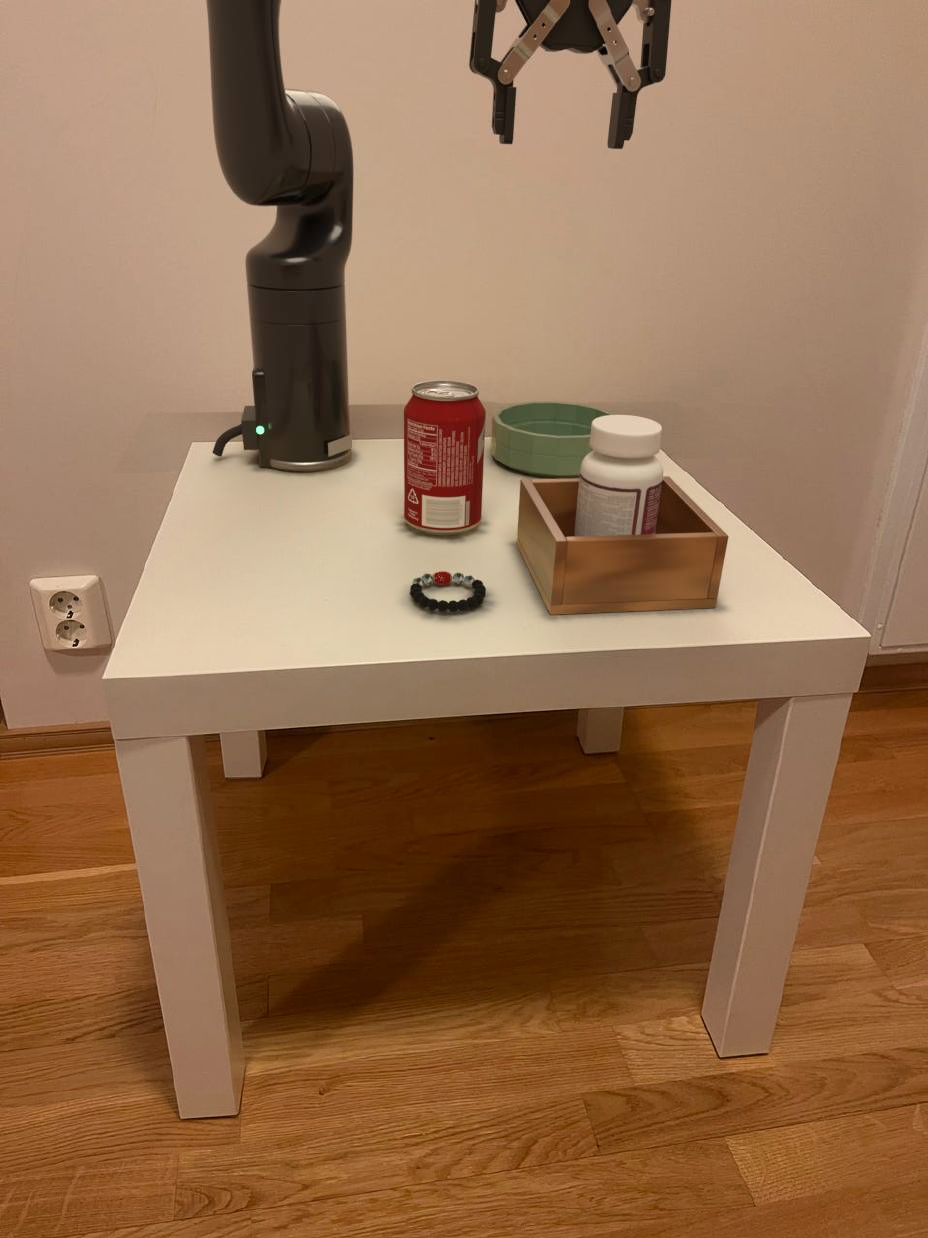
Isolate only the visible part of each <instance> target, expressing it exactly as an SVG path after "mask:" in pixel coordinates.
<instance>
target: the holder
mask: <svg viewBox="0 0 928 1238" xmlns="http://www.w3.org/2000/svg"><path fill="white" fill-rule="evenodd" d="M579 478H580V477H574V478H531V479H530V478H523V479H522V478H521V479H520V482H519V483H520V485H519V497H518V498H519V499H518V514H517V532H516V536H517V537H516V546H517V548H518V550H519V552H520V554H521V557H522V558H523V561H524V563H525V565H526V567H527V569H528V571H529V573H530V575H531V578H532V579H533V581H534V583H535V586H536V588H537V590H538V592H539V594H540V596H541V599H542V600H543V603H544V605H545V607H546V609H547V611H548V613H549V615H551V616H552V615H553V616H556V615H578V614H580V615H581V614H598V613H623V612H626V613H627V612H646V611H647V612H648V611H671V610H693V609H696V610H697V609H715V608H716V607H717V602H718V597H719V592H720V586H721V580H722V575H723V574H722V573H723V570H724V565H725V558H726V554H727V553H726V552H727V547H728V543H729V535H728V533H726V532H725V531H724V529H722V528H721V526H720V525H718V524H717V522H715V521H714V520H713V519H712V518H711V516H709V515H708V514H707V513H706V512H705V510H703V509H702V508H701V507H700V506H699V504H697V502H695V501H694V500H693V499H692V498H691V497H690V496H689V494H687V493H686V492H685V491H684V490H683V489H682V488H681V487H680V485H678V484H677V483H676V481H674V480H673V479H672V478H671V476H667V475H666V476H664V475H663V482H662V487H661V495H660V502H659V509H658V516H657V524H656V531H655V534H642V535H610V536H577V537H574V532H575V521H576V510H577V498H578V488H579Z"/></svg>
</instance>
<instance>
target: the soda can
mask: <svg viewBox="0 0 928 1238" xmlns="http://www.w3.org/2000/svg"><path fill="white" fill-rule="evenodd" d="M411 394H412V395H411V397H410V398H409V400H408V401H407V403H406V404H405V406H404V408H403V519H404V521H405V523H406V524H408V525H409V526H410V527H412V528H414V529H416V530H417V531H419V532H421V533H423V534H426V535H430V536H437V537H438V536H439V537H450V536H457V535H461V534H463V533H466V532H468V531H469V530H472V529H474V528H475V527H477V526H478V525H479V524H480V523H481V521H482V512H483V487H484V464H485V439H486V438H485V437H486V419H487V418H486V417H487V413H486V412H487V411H486V409H485V407H484V405H483V403H482V402H481V400H480V398H479V394H480V388H479V387H478V386H476V385H475V384H472V383H468V382H466V381H460V380H459V381H458V380H450V379H449V380H448V379H438V380H437V379H436V380H426V381H421V382H418V383H415V384H413V385H412V387H411Z"/></svg>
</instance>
